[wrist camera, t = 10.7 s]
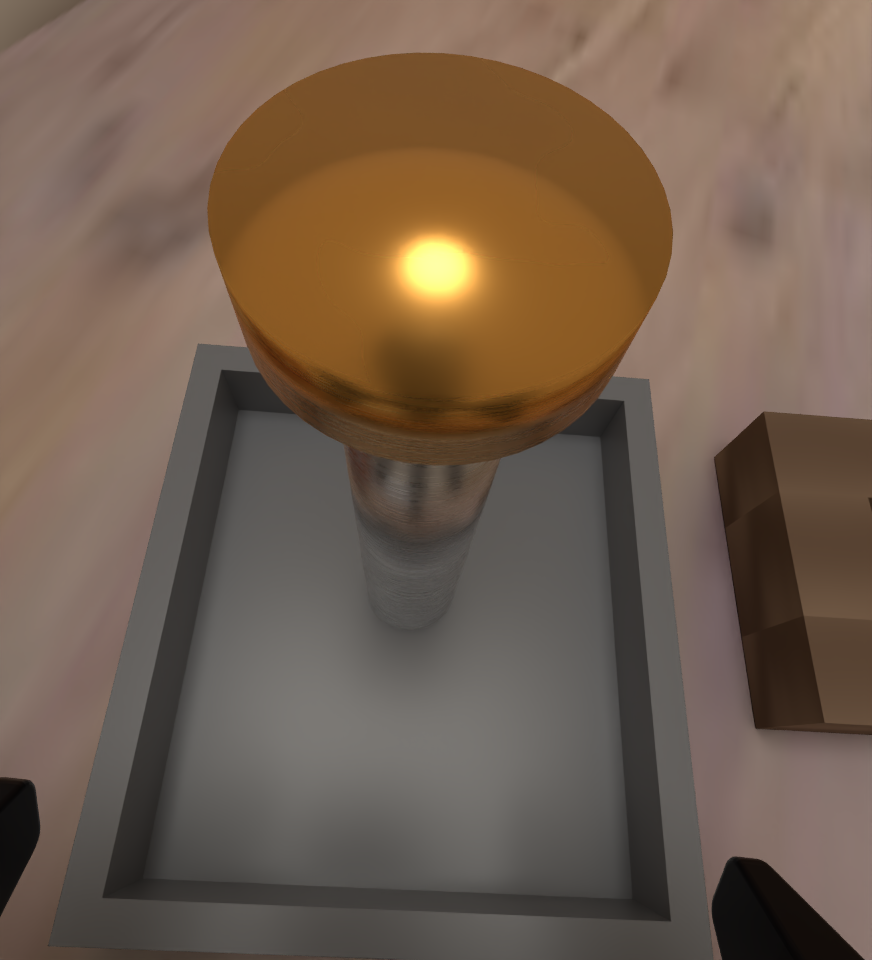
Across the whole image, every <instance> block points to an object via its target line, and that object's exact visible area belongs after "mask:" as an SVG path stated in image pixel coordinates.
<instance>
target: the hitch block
mask: <svg viewBox="0 0 872 960" xmlns="http://www.w3.org/2000/svg"><path fill="white" fill-rule="evenodd" d="M714 458H715V464H716V471H717V478H718V484H719V491H720V497H721V504H722V510H723V517H724V523H725V530H726V536H727V543H728V549H729V556H730V563H731V569H732V576H733V582H734V589H735V595H736V602H737V608H738V615H739V621H740V628H741V635H742V641H743V648H744V654H745V661H746V667H747V674H748V680H749V687H750V693H751V700H752V707H753V713H754V720H755V726H756V729H774V730H792V731H810V732H828V733H846V734H864V735H872V420H866V419H853V418H840V417H827V416H814V415H801V414H789V413H776V412H763V413H762V414H761V415H760V416H758V417H757V418H756V419H755V420H754V421H753V422H752V423H751V424H750V425H749V426H748V427H747V428H746V429H744V430H743V431H742V432H741V433H740V434H739V435H738V436H737V437H736V438H735V439H734V440H733V441H732V442H730V443H729V444H728V445H727V446H726V447H725V448H724V449H723V450H722V451H721V452H720V453H719V454H717V455H716V456H715V457H714Z"/></svg>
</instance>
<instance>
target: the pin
mask: <svg viewBox="0 0 872 960" xmlns="http://www.w3.org/2000/svg"><path fill="white" fill-rule="evenodd" d="M207 209H208V225H209V234H210V238H211V242H212V246H213V250H214V254H215V257H216V260H217V263H218V265H219V268H220V271H221V274H222V277H223V279H224V282H225V285H226V288H227V291H228V293H229V296H230V299H231V302H232V305H233V308H234V310H235V313H236V316H237V319H238V322H239V324H240V327H241V330H242V333H243V336H244V339H245V341H246V344H247V347H248V349H249V351H250V354H251V356H252V358H253V360H254V363H255V365H256V367H257V369H258V370H259V372H260V373H261V375H262V376H263V378H264V379H265V381H266V383H267V384H268V386H269V387H270V388H271V389H272V390H273V392H274V393H275V394H276V395H277V396H278V397H279V398H280V400H281V401H282V402H283V403H284V404H285V405H286V406H287V407H288V408H290V409H291V410H292V411H293V412H294V413H295V414H296V415H298V416H299V417H300V418H301V419H302V420H303V421H305V422H306V423H308V424H309V425H311V426H312V427H314V428H315V429H317V430H318V431H320V432H322V433H323V434H325V435H326V436H328V437H330V438H332V439H334V440H336V441H338V442H340V443H343V445H344V451H345V457H346V463H347V469H348V475H349V482H350V488H351V494H352V500H353V506H354V512H355V519H356V525H357V531H358V537H359V543H360V549H361V556H362V562H363V568H364V574H365V580H366V586H367V593H368V598H369V602H370V604H371V607H372V609H373V610H374V612H375V613H376V614H377V616H378V617H379V618H380V619H381V620H382V621H384V622H385V623H386V624H388V625H390V626H392V627H394V628H397V629H400V630H407V631H414V630H420V629H424V628H427V627H429V626H431V625H433V624H434V623H436V622H437V621H438V620H439V619H440V618H441V617H442V616H443V615H444V614H445V613H446V611H447V610H448V608H449V606H450V603H451V600H452V597H453V595H454V592H455V589H456V586H457V583H458V580H459V577H460V574H461V572H462V569H463V566H464V563H465V560H466V557H467V554H468V551H469V549H470V546H471V543H472V540H473V537H474V534H475V531H476V528H477V526H478V523H479V520H480V517H481V514H482V511H483V508H484V505H485V503H486V500H487V497H488V494H489V491H490V488H491V485H492V482H493V480H494V477H495V474H496V471H497V468H498V465H499V462H500V459H501V458H503V457H506V456H510V455H513V454H517V453H520V452H522V451H524V450H527V449H529V448H531V447H534V446H536V445H539V444H541V443H543V442H545V441H546V440H548V439H550V438H551V437H553V436H555V435H556V434H558V433H560V432H562V431H563V430H565V429H566V428H567V427H568V426H570V425H571V424H572V423H573V422H575V421H576V420H577V419H578V418H580V417H581V416H582V415H583V414H584V413H585V412H586V411H587V410H588V409H589V408H590V407H591V405H592V404H593V403H594V402H595V401H596V400H597V399H598V398H599V396H600V395H601V393H602V392H603V390H604V389H605V387H606V386H607V384H608V383H609V381H610V380H611V378H612V376H613V374H614V373H615V371H616V369H617V367H618V365H619V364H620V362H621V360H622V358H623V357H624V355H625V353H626V351H627V349H628V348H629V346H630V344H631V342H632V341H633V339H634V337H635V335H636V333H637V332H638V330H639V328H640V326H641V325H642V323H643V321H644V319H645V317H646V316H647V314H648V312H649V310H650V309H651V307H652V305H653V303H654V302H655V300H656V298H657V296H658V293H659V291H660V289H661V287H662V285H663V282H664V280H665V278H666V275H667V271H668V267H669V263H670V259H671V254H672V239H673V229H672V220H671V212H670V207H669V204H668V200H667V197H666V194H665V190H664V187H663V185H662V183H661V181H660V179H659V177H658V175H657V172H656V170H655V168H654V167H653V165H652V164H651V162H650V161H649V159H648V158H647V156H646V155H645V153H644V151H643V150H642V149H641V147H640V146H639V145H638V144H637V143H636V142H635V140H634V139H633V138H632V137H631V136H630V135H629V133H628V132H627V131H626V130H625V129H624V128H623V127H621V126H620V125H619V124H618V123H617V122H616V121H615V120H614V119H613V118H612V117H611V116H610V115H608V114H607V113H606V112H604V111H603V110H602V109H600V108H599V107H597V106H596V105H595V104H593V103H592V102H591V101H589V100H588V99H586V98H584V97H583V96H581V95H579V94H578V93H576V92H574V91H573V90H571V89H569V88H567V87H565V86H563V85H561V84H559V83H557V82H555V81H553V80H551V79H549V78H546V77H544V76H541V75H539V74H536V73H533V72H531V71H528V70H525V69H523V68H519V67H516V66H512V65H509V64H505V63H501V62H498V61H493V60H488V59H483V58H478V57H472V56H464V55H455V54H445V53H406V54H391V55H384V56H377V57H371V58H365V59H361V60H357V61H352V62H348V63H344V64H341V65H338V66H335V67H332V68H329V69H326V70H323V71H320V72H317V73H315V74H313V75H311V76H309V77H307V78H304V79H302V80H300V81H298V82H296V83H294V84H292V85H291V86H289V87H287V88H286V89H284V90H282V91H281V92H279V93H277V94H276V95H274V96H273V97H272V98H271V99H269V100H268V101H267V102H265V103H264V104H263V105H262V106H260V107H259V108H258V109H257V110H256V111H255V112H254V113H253V114H252V115H251V116H250V117H249V118H248V119H247V120H246V121H245V122H244V123H243V124H242V125H241V126H240V127H239V128H238V130H237V131H236V133H235V134H234V135H233V137H232V138H231V139H230V141H229V142H228V143H227V145H226V147H225V149H224V151H223V153H222V155H221V157H220V159H219V161H218V163H217V165H216V168H215V172H214V175H213V178H212V181H211V184H210V191H209V199H208V207H207Z"/></svg>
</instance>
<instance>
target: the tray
mask: <svg viewBox="0 0 872 960" xmlns="http://www.w3.org/2000/svg"><path fill="white" fill-rule="evenodd" d="M48 946H56V947H83V948H109V949H135V950H161V951H188V952H214V953H240V954H266V955H293V956H319V957H345V958H372V959H398V960H713V951H712V942H711V933H710V924H709V915H708V906H707V897H706V888H705V879H704V870H703V861H702V852H701V843H700V834H699V825H698V816H697V807H696V798H695V789H694V780H693V771H692V762H691V753H690V744H689V735H688V726H687V717H686V708H685V699H684V690H683V681H682V672H681V663H680V654H679V645H678V636H677V627H676V618H675V609H674V600H673V591H672V582H671V573H670V564H669V555H668V546H667V537H666V528H665V519H664V510H663V501H662V492H661V483H660V474H659V465H658V456H657V447H656V438H655V429H654V420H653V411H652V402H651V393H650V384H649V379H638V378H626V377H613V376H612V378H611V380H610V381H609V383H608V384H607V386H606V387H605V389H604V390H603V392H602V393H601V395H600V396H599V398H598V399H597V400H596V401H595V402H594V403H593V404H592V405H591V407H590V408H589V409H588V410H587V411H586V412H585V413H584V414H583V415H582V416H581V417H580V418H578V419H577V420H576V421H575V422H573V423H572V424H571V425H570V426H568V427H567V428H566V429H565V430H563V431H562V432H560V433H558V434H556V435H555V436H553V437H551V438H550V439H548V440H546V441H545V442H543V443H541V444H539V445H536V446H534V447H531V448H529V449H527V450H524V451H522V452H520V453H517V454H513V455H510V456H506V457H503V458H501V459H500V462H499V465H498V468H497V471H496V474H495V477H494V480H493V482H492V485H491V488H490V491H489V494H488V497H487V500H486V503H485V505H484V508H483V511H482V514H481V517H480V520H479V523H478V526H477V528H476V531H475V534H474V537H473V540H472V543H471V546H470V549H469V551H468V554H467V557H466V560H465V563H464V566H463V569H462V572H461V574H460V577H459V580H458V583H457V586H456V589H455V592H454V595H453V597H452V600H451V603H450V606H449V608H448V610H447V611H446V613H445V614H444V615H443V616H442V617H441V618H440V619H439V620H438V621H437V622H436V623H434V624H433V625H431V626H429V627H427V628H424V629H420V630H414V631H407V630H400V629H397V628H394V627H392V626H390V625H388V624H386V623H385V622H384V621H382V620H381V619H380V618H379V617H378V616H377V614H376V613H375V612H374V610H373V609H372V607H371V604H370V602H369V598H368V593H367V586H366V580H365V574H364V568H363V562H362V556H361V549H360V543H359V537H358V531H357V525H356V519H355V512H354V506H353V500H352V494H351V488H350V482H349V475H348V469H347V463H346V457H345V451H344V445H343V443H340V442H338V441H336V440H334V439H332V438H330V437H328V436H326V435H325V434H323V433H322V432H320V431H318V430H317V429H315V428H314V427H312V426H311V425H309V424H308V423H306V422H305V421H303V420H302V419H301V418H300V417H299V416H298V415H296V414H295V413H294V412H293V411H292V410H291V409H290V408H288V407H287V406H286V405H285V404H284V403H283V402H282V401H281V400H280V398H279V397H278V396H277V395H276V394H275V393H274V392H273V390H272V389H271V388H270V387H269V386H268V384H267V383H266V381H265V379H264V378H263V376H262V375H261V373H260V372H259V370H258V369H257V367H256V365H255V363H254V360H253V358H252V356H251V354H250V351H249V349H248V348H246V347H234V346H221V345H208V344H198V346H197V350H196V354H195V358H194V362H193V366H192V370H191V374H190V378H189V382H188V386H187V390H186V394H185V398H184V402H183V406H182V410H181V414H180V418H179V422H178V426H177V430H176V434H175V438H174V442H173V447H172V451H171V455H170V459H169V463H168V467H167V471H166V475H165V479H164V483H163V487H162V491H161V495H160V499H159V503H158V507H157V511H156V515H155V519H154V523H153V527H152V531H151V535H150V539H149V543H148V547H147V551H146V555H145V559H144V563H143V567H142V571H141V575H140V579H139V583H138V587H137V591H136V595H135V599H134V603H133V607H132V611H131V615H130V619H129V623H128V627H127V631H126V635H125V639H124V643H123V647H122V651H121V655H120V659H119V663H118V667H117V671H116V675H115V679H114V683H113V687H112V691H111V695H110V699H109V703H108V707H107V711H106V715H105V720H104V724H103V728H102V732H101V736H100V740H99V744H98V748H97V752H96V756H95V760H94V764H93V768H92V772H91V776H90V780H89V784H88V788H87V792H86V796H85V800H84V804H83V808H82V812H81V816H80V820H79V824H78V828H77V832H76V836H75V840H74V844H73V848H72V852H71V856H70V860H69V864H68V868H67V872H66V876H65V880H64V884H63V888H62V892H61V896H60V900H59V904H58V908H57V912H56V916H55V920H54V924H53V928H52V932H51V936H50V940H49V944H48Z"/></svg>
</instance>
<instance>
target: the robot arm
mask: <svg viewBox="0 0 872 960" xmlns="http://www.w3.org/2000/svg"><path fill="white" fill-rule="evenodd" d="M39 834H40V820H39V812H38V804H37V797H36V789H35V785H34V784H33V783H32V782H31V781H30V780H26V779H17V778H8V777H1V778H0V916H1V914H2V912H3V910H4V908H5V906H6V904H7V902H8V900H9V898H10V896H11V894H12V892H13V891H14V889H15V887H16V885H17V883H18V881H19V879H20V877H21V875H22V873H23V871H24V869H25V867H26V865H27V863H28V861H29V859H30V857H31V855H32V853H33V851H34V849H35V847H36V844H37V842H38V838H39ZM712 918H713V923H714V927H715V932H716V936H717V940H718V944H719V948H720V953H721V957H722V960H864V959H863V958H862V957H861V956H860V955H859V954H858V953H857V952H856V951H855V950H854V949H853V948H852V947H851V946H850V945H849V944H848V943H847V942H846V941H845V940H844V939H843V938H842V937H841V936H840V935H839V934H838V933H837V932H836V931H835V930H834V929H833V928H832V927H831V926H830V925H829V924H828V923H827V922H826V921H825V920H824V919H823V918H822V917H821V916H820V915H819V914H818V913H817V912H816V911H815V910H814V909H813V908H812V907H811V906H810V905H809V904H808V903H807V902H806V901H805V900H804V899H803V898H802V897H801V896H800V895H799V894H798V893H797V892H796V891H795V890H794V889H793V888H792V887H791V886H790V885H789V884H788V883H787V882H786V881H785V880H784V879H783V878H782V877H781V876H780V875H779V874H778V873H777V872H776V871H775V870H774V869H773V868H772V867H771V866H769V865H768V864H767V863H766V862H764V861H762V860H759V859H754V858H744V857H732V858H730V859H729V860H728V861H727V863H726V865H725V868H724V871H723V873H722V876H721V878H720V881H719V884H718V886H717V889H716V891H715V894H714V897H713V900H712Z"/></svg>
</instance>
